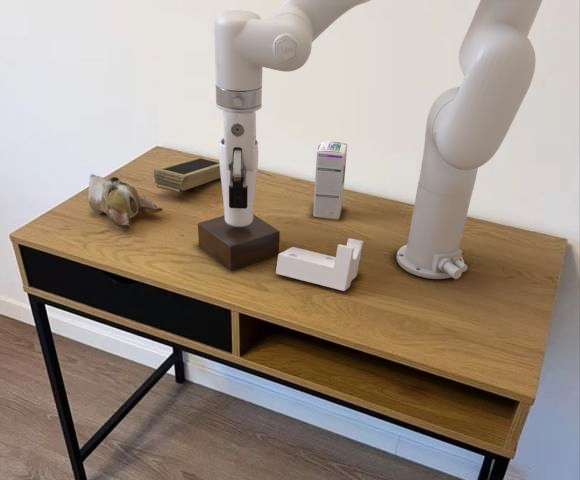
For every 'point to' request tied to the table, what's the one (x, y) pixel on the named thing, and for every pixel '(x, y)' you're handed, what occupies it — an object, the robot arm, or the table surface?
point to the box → (187, 174)
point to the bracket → (322, 265)
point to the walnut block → (238, 242)
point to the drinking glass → (231, 215)
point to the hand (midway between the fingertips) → (239, 198)
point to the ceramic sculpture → (117, 200)
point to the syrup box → (329, 179)
